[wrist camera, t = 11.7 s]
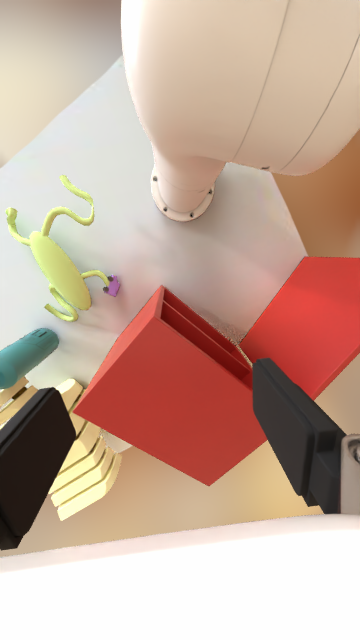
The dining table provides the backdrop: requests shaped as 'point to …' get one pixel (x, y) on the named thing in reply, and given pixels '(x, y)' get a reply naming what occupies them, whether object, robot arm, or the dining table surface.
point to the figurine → (62, 260)
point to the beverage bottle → (25, 355)
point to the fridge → (176, 391)
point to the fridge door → (311, 323)
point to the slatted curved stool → (72, 451)
